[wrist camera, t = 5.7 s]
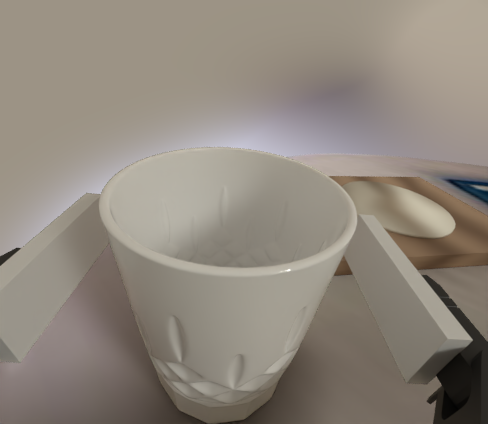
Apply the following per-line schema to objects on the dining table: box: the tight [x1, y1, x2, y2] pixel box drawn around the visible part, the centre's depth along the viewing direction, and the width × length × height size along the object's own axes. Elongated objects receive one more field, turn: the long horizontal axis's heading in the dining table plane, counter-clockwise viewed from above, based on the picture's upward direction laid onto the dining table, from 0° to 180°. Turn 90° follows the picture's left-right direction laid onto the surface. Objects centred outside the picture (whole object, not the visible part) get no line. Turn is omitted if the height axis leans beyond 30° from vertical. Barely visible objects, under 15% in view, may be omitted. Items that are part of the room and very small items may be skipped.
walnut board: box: [329, 176, 488, 275], centre depth 26 cm, size 20×15×2 cm
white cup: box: [99, 147, 357, 424], centre depth 11 cm, size 8×8×10 cm
